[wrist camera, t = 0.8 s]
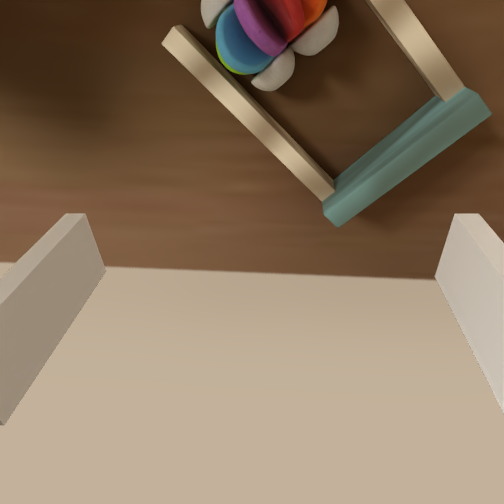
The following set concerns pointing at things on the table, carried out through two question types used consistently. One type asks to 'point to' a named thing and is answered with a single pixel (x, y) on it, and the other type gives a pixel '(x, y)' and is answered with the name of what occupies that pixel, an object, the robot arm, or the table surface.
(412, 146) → the channel
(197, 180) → the table surface
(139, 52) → the table surface
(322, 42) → the rainbow disc toy
